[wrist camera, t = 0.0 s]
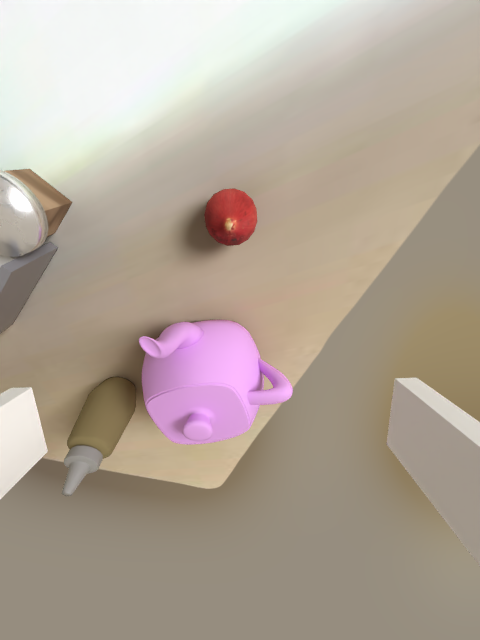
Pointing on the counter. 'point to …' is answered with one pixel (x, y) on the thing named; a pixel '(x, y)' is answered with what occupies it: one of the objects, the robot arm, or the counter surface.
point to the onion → (230, 216)
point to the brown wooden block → (45, 197)
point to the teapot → (206, 381)
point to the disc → (20, 218)
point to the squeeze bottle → (98, 429)
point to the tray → (20, 280)
